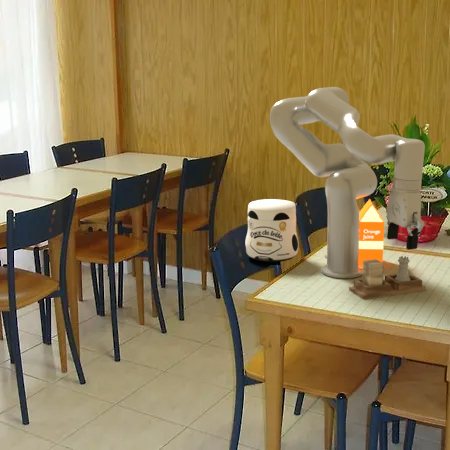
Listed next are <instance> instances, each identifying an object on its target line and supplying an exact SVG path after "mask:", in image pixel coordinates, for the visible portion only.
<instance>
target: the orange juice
mask: <svg viewBox="0 0 450 450" xmlns="http://www.w3.org/2000/svg"><path fill="white" fill-rule="evenodd" d="M359 212H360V236H359V266H361V267H362V268H363V261H364V260H372V259H377V260H378V261H380V262H382V263H383V264H384V261H383V260H384V259H383V258H384V256H383V255H384V235H385V231H384V230H385V221H384V219H383V217H382V215H381V214H380V212H379V211H378V209H377V208H376V206H375V205H374V204H373V202H372V200H371V199H370V198H369V199H368V201H366V203H365V204H364V205H363V207H362V208H361V209H360V210H359Z"/></svg>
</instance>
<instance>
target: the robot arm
mask: <svg viewBox="0 0 450 450" xmlns="http://www.w3.org/2000/svg"><path fill="white" fill-rule="evenodd" d="M360 119H361V115H360V112H359V110H358V109H356V108H355V107H353V106H352V105H350V98H349V95H348V93H347V91H346V90H344V89H343V88H341V87H338V86H329V87H319V88H316V89H313V90H311V91H310V92H309V93H308V94H307V96H297V97H288V98H283V99H280V100H279V101H277V102H275V103H274V104H273V105H272V107H271V108H270V111H269V125H270V128H271V130H272V132H273V135H274V137H276V138H277V140H278V141H279V142H280V144H282V145H283V146H285V147H286V148H287V149H288V150H289V151H290V152H291V153H292V154H293V156H295V158H297V159H298V161H299V162H300V163H302V165H303V166H305V168H306V169H308V171H309V172H310V173H312V174H313V176H316V178H317V177H318V178H326V177H327V179H325V183H324V184H325V185H324V192H325V197H326V204H327V234H326V235H327V236H326V237H327V239H326V240H327V241H326V242H327V243H326V244H327V245H326V247H327V248H326V254H325V256H324V258H325V259H326V264H324V265H323V266H321V273H322V274H323V275H325V276H328V277H331V278H335V279H353V278H358V277H361V276H363V268H362V267H361V266H359V236H360V209H359V206H358V203H357V200H358V199H361V198H364V197H368V196H371V194H373V193H374V192H375V191H376V189H377V185H378V179H377V176H376V173H375V172H374V169H372V167H370V166H369V165H372V166H374V165H376V166H377V165H381V164H384V163H390V162H394V167H393V169H394V170H393V180H392V186H391V188H390V189H391V190H390V193H389V197H388V203H387V206H386V207H385V211H386V212H385V213H386V219H387V223H386V224H387V232H386V233H387V234H386V238H387V240H394V239H395V240H396V239H398V238H399V227H401V228H406V229H407V232H408V235H407V236H406V245H405V248H406V250H417V249H418V243H419V236H420V235H421V233H422V231H423V228H424V226H425V223H424V221H423V220H422V218H421V212H422V211H421V210H422V197H421V195H422V194H421V190H422V179H423V170H424V158H425V149H426V144H425V143H424V141H423V140H421V139H417V138H406V137H404V136H401V135H397V134H393V133H391V134H384V135H378V136H377V135H376V136H372V135H370V134H369V133H367V132H366V131H364V130H363V129H362V128H361V127H359V122H360ZM319 121H320V122H321V123H322V124H324V125H326V126H327V127H328V128H330V129H331V130H333V131H334V132H336V134H338V135H339V138H340V140H341V142H342V143H341V142H338V143H337V142H335V143H330V144H329V143H328V144H327V143H324V142H322V140H320V139H319V138H317V137H316V135H315V134H314V133H312V131H310V130H309V129H306V128H305V127H303V126H301V125H307V124H313V123H316V122H319Z"/></svg>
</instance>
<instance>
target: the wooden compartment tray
mask: <svg viewBox="0 0 450 450" xmlns="http://www.w3.org/2000/svg"><path fill="white" fill-rule="evenodd" d="M397 275H398V273H396V274H387V275H384V262H383V263H382V262H380V261H378V260H377V259H372V260H364V261H363V274H362V275H361V276H362V278H358V279H353V286H349V287H348V291H350V292H351V293H353V294H354V295H356V296H357V297H359V298H360V299H362V300H369V299H375V298H381V297H382V298H384V297H389V296H394V295H402V294H409V293H415V292H417V293H418V292H423V291H427V286H426V285H424V284H423V280H422V279H420V278H418V277H417V276H415V275H414V274H413V275H412V274H411V273H409V272H408V276H409V278H410V280H411V281H405V282H399V281H397V280H395V278H396V277H397Z"/></svg>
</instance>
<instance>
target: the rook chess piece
mask: <svg viewBox="0 0 450 450" xmlns="http://www.w3.org/2000/svg"><path fill="white" fill-rule="evenodd" d="M397 262H398V263H399V265H398V272H397V274H398V275H397V277H396V278H395V280H397V281H399V282H405V281H411V280H410V278H409V276H408V273H409V270H408V268H409V263H410V262H411V261H410V259H409V257H408V256H404V257H403V255H402V256H399V258H398V259H397Z"/></svg>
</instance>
